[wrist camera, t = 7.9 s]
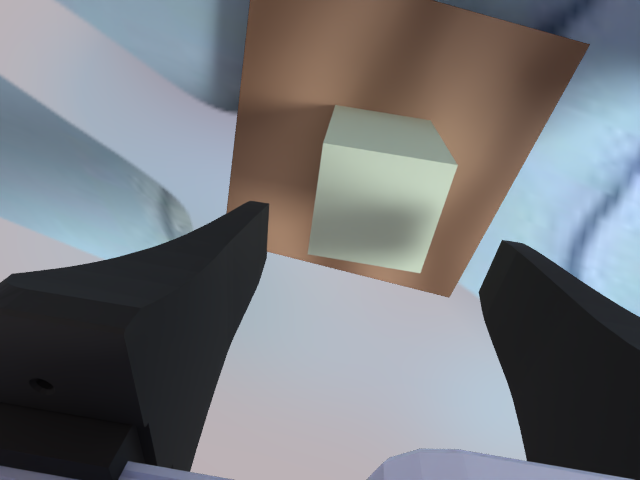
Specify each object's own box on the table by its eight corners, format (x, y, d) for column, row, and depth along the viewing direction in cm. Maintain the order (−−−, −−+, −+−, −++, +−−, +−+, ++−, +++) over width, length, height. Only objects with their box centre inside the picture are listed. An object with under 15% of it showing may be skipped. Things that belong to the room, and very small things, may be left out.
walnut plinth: (567, 41, 17) (589, 44, 15) (443, 277, 24) (449, 297, 23) (266, -43, 16) (255, -50, 15) (233, 224, 24) (223, 240, 22)
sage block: (430, 120, 17) (457, 165, 12) (406, 206, 20) (420, 273, 15) (335, 105, 17) (323, 142, 12) (322, 192, 20) (307, 254, 15)
